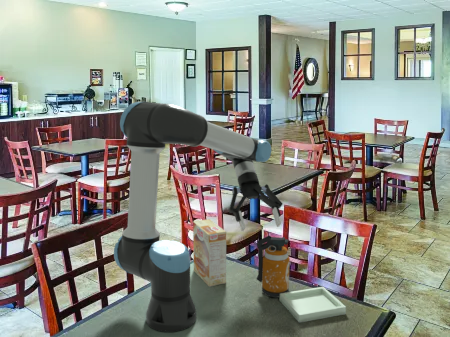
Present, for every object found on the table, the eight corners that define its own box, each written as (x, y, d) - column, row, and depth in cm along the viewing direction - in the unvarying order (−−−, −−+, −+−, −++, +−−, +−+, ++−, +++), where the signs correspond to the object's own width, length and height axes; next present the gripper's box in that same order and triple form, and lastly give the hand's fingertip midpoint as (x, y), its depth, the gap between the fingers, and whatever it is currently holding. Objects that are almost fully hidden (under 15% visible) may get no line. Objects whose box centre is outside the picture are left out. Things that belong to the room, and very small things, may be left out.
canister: (287, 300, 151) (289, 243, 147) (254, 296, 153) (255, 240, 149) (289, 287, 159) (291, 233, 155) (257, 284, 162) (258, 231, 157)
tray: (299, 322, 138) (299, 315, 137) (279, 300, 151) (279, 293, 150) (345, 314, 143) (346, 306, 142) (322, 293, 156) (323, 286, 155)
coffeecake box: (192, 270, 173) (192, 221, 169) (210, 266, 176) (210, 218, 172) (208, 287, 160) (208, 234, 155) (226, 283, 163) (227, 231, 158)
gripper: (274, 179, 179) (289, 228, 169) (213, 184, 172) (225, 235, 161) (280, 168, 173) (297, 218, 163) (217, 173, 166) (230, 226, 155)
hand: (261, 227), depth 162 cm, fingers open, 13 cm apart
